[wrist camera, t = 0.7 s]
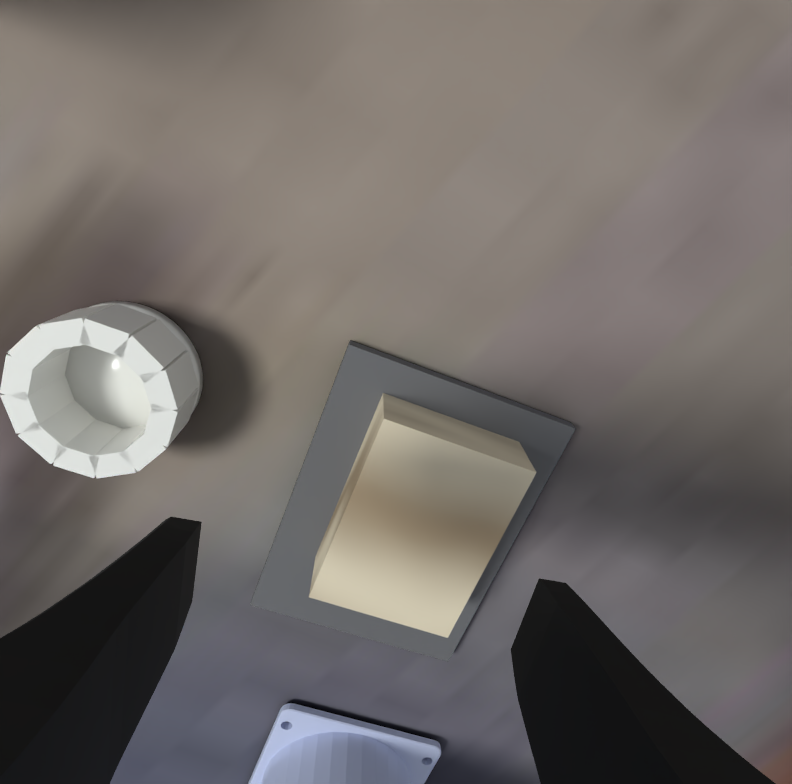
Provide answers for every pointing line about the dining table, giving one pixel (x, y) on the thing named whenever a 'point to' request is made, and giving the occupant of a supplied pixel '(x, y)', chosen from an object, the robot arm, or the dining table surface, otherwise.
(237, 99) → the dining table surface
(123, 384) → the bowl
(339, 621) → the mat
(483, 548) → the block
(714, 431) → the dining table surface
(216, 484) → the dining table surface
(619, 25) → the dining table surface
